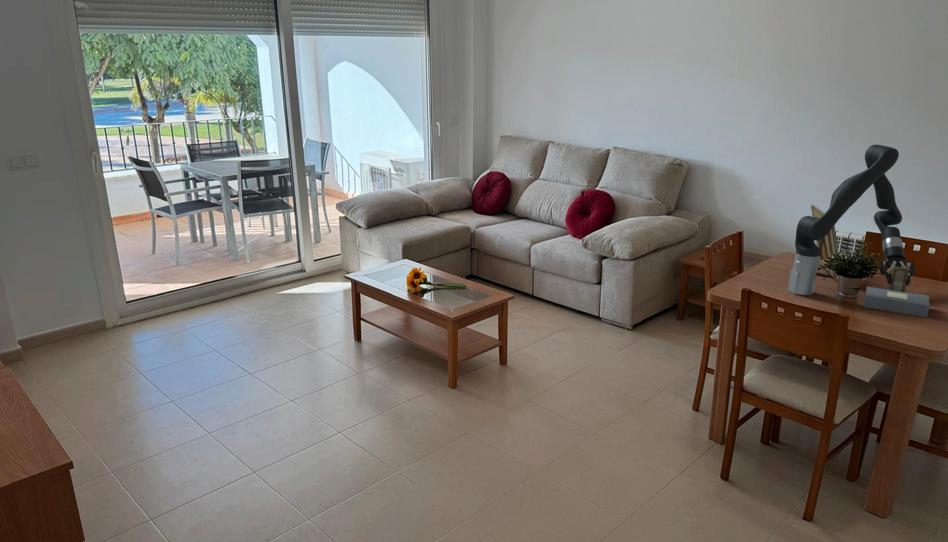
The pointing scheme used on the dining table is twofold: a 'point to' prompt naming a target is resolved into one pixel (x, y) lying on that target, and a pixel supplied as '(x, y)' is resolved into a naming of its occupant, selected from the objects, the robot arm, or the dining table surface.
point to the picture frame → (826, 241)
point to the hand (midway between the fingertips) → (899, 284)
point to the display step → (897, 301)
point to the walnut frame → (899, 279)
